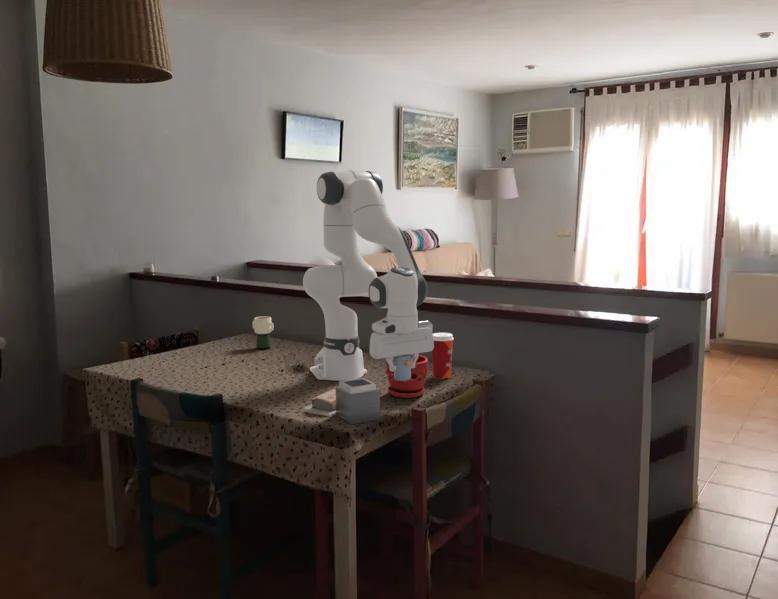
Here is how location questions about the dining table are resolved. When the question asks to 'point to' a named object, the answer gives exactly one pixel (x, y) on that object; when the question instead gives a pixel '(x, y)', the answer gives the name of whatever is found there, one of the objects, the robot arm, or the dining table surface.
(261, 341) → the character mug
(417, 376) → the plant pot
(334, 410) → the packaged product
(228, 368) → the dining table surface
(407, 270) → the robot arm
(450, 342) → the coffee cup
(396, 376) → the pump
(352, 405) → the grey hollow box
